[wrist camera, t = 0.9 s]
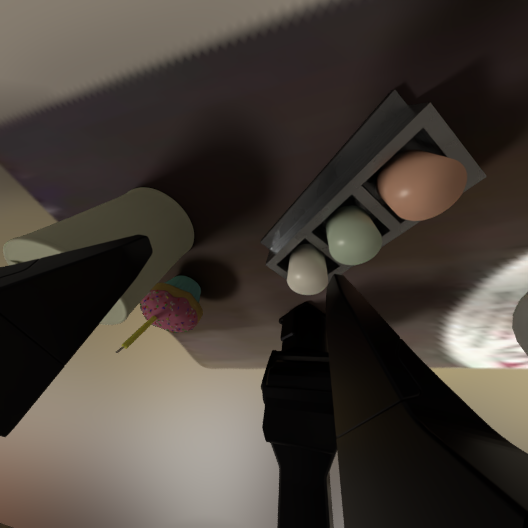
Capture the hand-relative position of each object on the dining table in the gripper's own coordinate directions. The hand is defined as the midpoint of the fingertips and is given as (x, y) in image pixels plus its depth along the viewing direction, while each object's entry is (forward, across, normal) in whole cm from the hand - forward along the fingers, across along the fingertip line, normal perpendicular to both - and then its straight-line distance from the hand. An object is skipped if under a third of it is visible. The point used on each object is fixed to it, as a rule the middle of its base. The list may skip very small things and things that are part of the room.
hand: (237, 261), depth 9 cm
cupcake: (+12, +12, +17) cm, 24 cm away
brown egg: (+10, -10, -3) cm, 14 cm away
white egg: (+10, -5, +6) cm, 12 cm away
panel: (+12, -7, +1) cm, 14 cm away
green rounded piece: (+10, -7, +1) cm, 12 cm away
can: (+12, +14, +7) cm, 20 cm away
